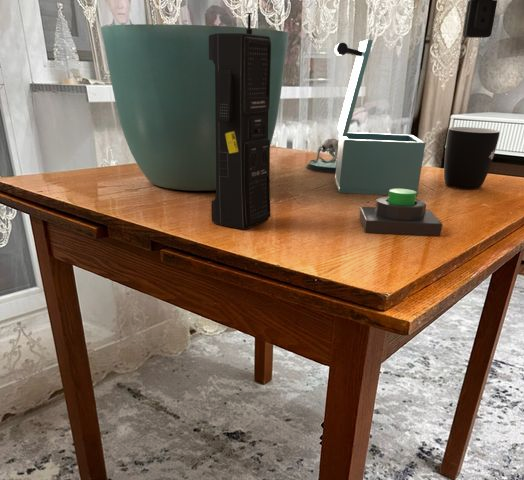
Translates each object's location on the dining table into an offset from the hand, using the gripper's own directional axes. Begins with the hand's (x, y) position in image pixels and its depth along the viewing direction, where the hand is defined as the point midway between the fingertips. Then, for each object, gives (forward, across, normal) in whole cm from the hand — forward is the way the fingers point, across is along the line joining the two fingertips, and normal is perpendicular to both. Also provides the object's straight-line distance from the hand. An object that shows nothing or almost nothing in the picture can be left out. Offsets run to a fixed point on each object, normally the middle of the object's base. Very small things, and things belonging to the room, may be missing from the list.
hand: (476, 36), depth 70 cm
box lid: (+7, +21, +13) cm, 25 cm away
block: (+23, -6, +8) cm, 26 cm away
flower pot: (+23, +19, +40) cm, 50 cm away
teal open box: (+24, +20, +8) cm, 32 cm away
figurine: (+24, +40, +15) cm, 48 cm away
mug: (+24, +27, -10) cm, 38 cm away
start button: (+20, -6, +8) cm, 23 cm away
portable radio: (+23, -8, +30) cm, 39 cm away
